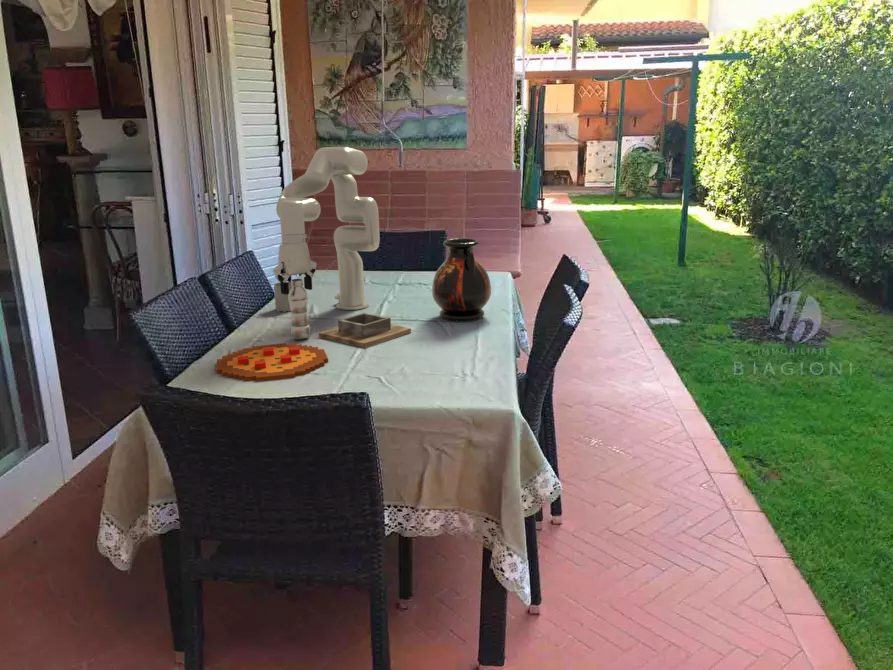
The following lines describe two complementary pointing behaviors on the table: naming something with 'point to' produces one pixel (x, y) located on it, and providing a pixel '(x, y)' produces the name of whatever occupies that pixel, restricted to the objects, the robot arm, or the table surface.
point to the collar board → (364, 330)
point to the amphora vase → (461, 283)
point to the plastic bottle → (298, 310)
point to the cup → (281, 298)
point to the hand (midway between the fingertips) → (296, 291)
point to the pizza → (271, 362)
